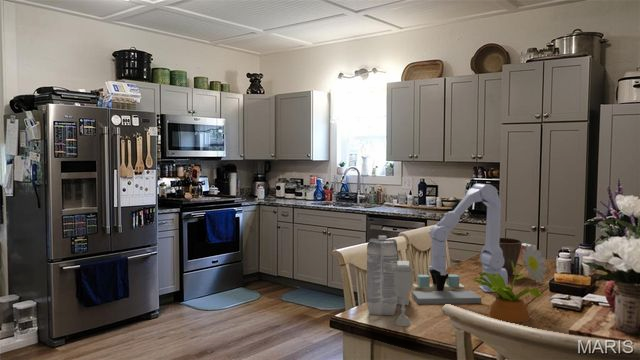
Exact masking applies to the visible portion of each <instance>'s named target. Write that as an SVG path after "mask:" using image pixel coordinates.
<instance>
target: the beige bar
mask: <svg viewBox="0 0 640 360" xmlns="http://www.w3.org/2000/svg"><path fill="white" fill-rule="evenodd" d="M465 289H466V287H465V286H464V285H463V284H462V283H459V287H449V286H448V285H447V284H446V283H445V285H444V289H443V291H466V290H465ZM412 291H438V290H437V284H433V283H430V287H419V286H418V284H417V283H412V287H411V292H412Z"/></svg>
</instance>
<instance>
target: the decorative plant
mask: <svg viewBox="0 0 640 360" xmlns="http://www.w3.org/2000/svg"><path fill="white" fill-rule="evenodd" d="M530 245H531V246H530V249H529V247H528V245H526V251H525V250H524V249H523V250H522V251H523V254H524V258H523V260H524V261H525V264H526V267H525V266H522V267H521V268H520V269H519V270H518V271H517V272H516V267H514V264H513V262H512V261H511V264H512V268H513V271H514V272H513V274H514V277H513V280H512V283H511V285H509V286H508V287H506V284H505V281H504V279H503V278H502V277H501V276H500V275H499V274H498V273H497V274H493V275H492V274H490V273H486V272H483V271H482V272H480V273H481V274H480V275H479V277H478V278H477V277H475V278H474V280H473V282H475V283H478V285H479V284H480V285H481V286H482V285H487V286H488V287H489V288H491V292H492V293H496V294H497V296H496V298H495V300H494V301H493V303H492V304H491V305H490V308H489V309H490V310H489V312H488V315H489V317H490V318H493V319H494V318H496V319H495V320H497V319H500V320H499V321H501V320H504V321H503V322H506V321H508V323H524V322H527V321H530V318H531V317H530V311H529V308H528V307H527V305H526V304H525V303H524V299H523V298H521V297H522V296H524V295H527V294H528V293H530V294H531V295H533V296H534V297H535V298H536V299H538V298H539V297H541V296H543V293H542V292H539V291H538V288H536V287H534V288H525V289H523V290H522V291H520V292H519V293H517V294H514V292H513V289H514V283H515V280H520V279H523V278H524V277H526V274H521V275H519V276H517V275H518V274H520V272H521V271H522V270H524V268H525V270H526V271H528V274H529V278H532V279H534V280H535V282H536V283H538V282H539V283H540V284H543V281H542V280H544V279H545V278H546V275H545V274H546V272H547V271H548V269H547V267H545V266H546V264H545V262H546V257H544V256H543V254H542V251H541V250H538V249H537V248H536V250H535V252H534V246H535V245H534V244H533V243H531V244H530ZM484 275H486V276H487V277H488V279H489V281H490V282H491V283H490V282H489V281H487V280H486V279H485V278H484V277H483V276H484ZM494 276H496V277H494ZM496 278H497V279H496ZM482 280H484V282H483V281H482ZM485 281H486V282H487V283H486V282H485ZM489 284H490V285H489ZM491 292H490V293H491Z"/></svg>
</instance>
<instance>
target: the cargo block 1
mask: <svg viewBox="0 0 640 360" xmlns="http://www.w3.org/2000/svg"><path fill="white" fill-rule="evenodd" d="M430 279H431V277H430V276H429V275H428V274H417V282H416V284H418V286H419V287H430V284H431V283H430Z"/></svg>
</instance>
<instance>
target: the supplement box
mask: <svg viewBox="0 0 640 360" xmlns="http://www.w3.org/2000/svg"><path fill="white" fill-rule="evenodd" d="M397 267H408V268H411V267H410V261H409V260H397ZM401 302H402V298H401V297H399V295H398V293H397V305H398V306H399V305H401ZM405 303H406V304H405V306H409V305H410V304H409V303H410V293H409V294H408V296H407V297H405ZM401 306H402V305H401Z"/></svg>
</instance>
